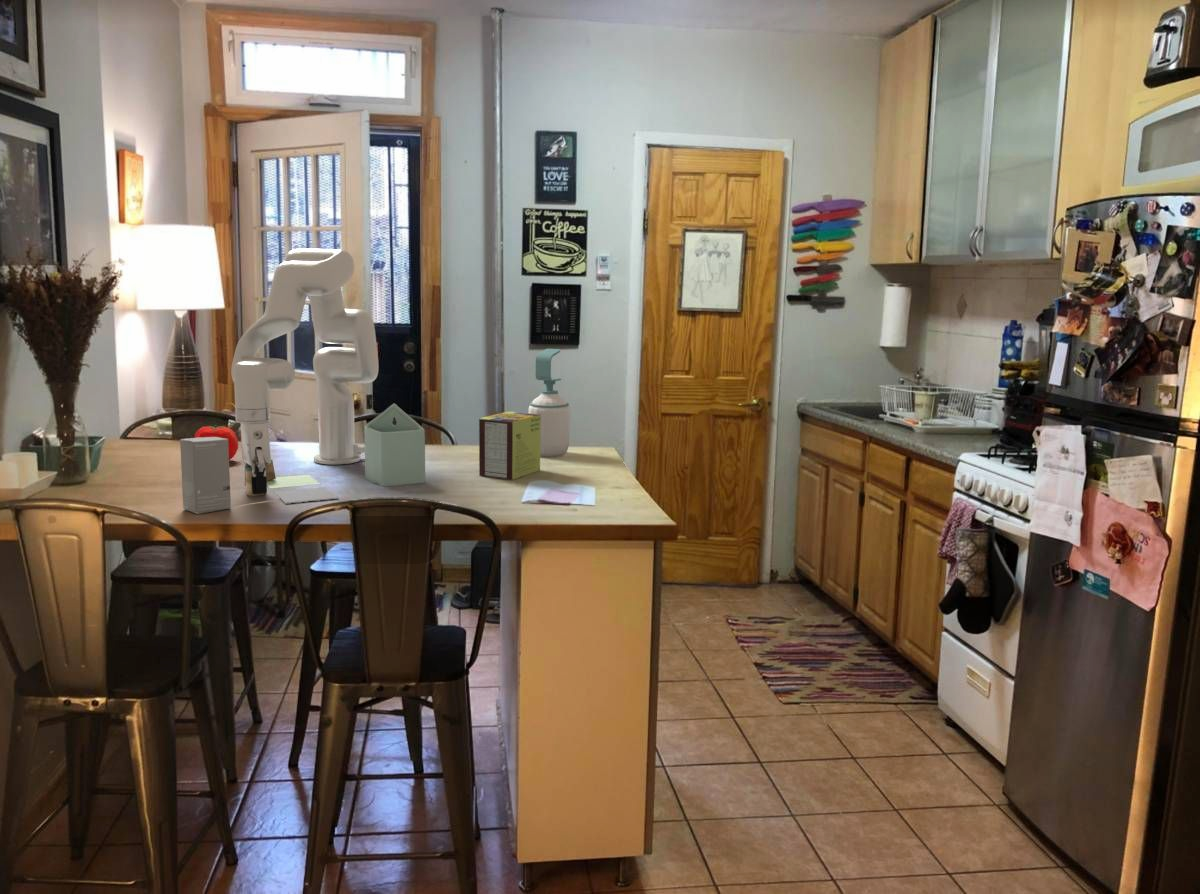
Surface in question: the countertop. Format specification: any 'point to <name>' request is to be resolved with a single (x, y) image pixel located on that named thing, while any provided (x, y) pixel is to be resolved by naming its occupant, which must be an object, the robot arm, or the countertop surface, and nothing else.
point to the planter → (394, 449)
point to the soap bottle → (551, 409)
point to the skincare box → (205, 474)
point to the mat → (292, 481)
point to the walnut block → (269, 471)
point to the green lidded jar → (250, 481)
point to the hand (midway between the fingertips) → (256, 489)
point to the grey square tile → (305, 495)
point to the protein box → (509, 445)
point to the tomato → (220, 436)
